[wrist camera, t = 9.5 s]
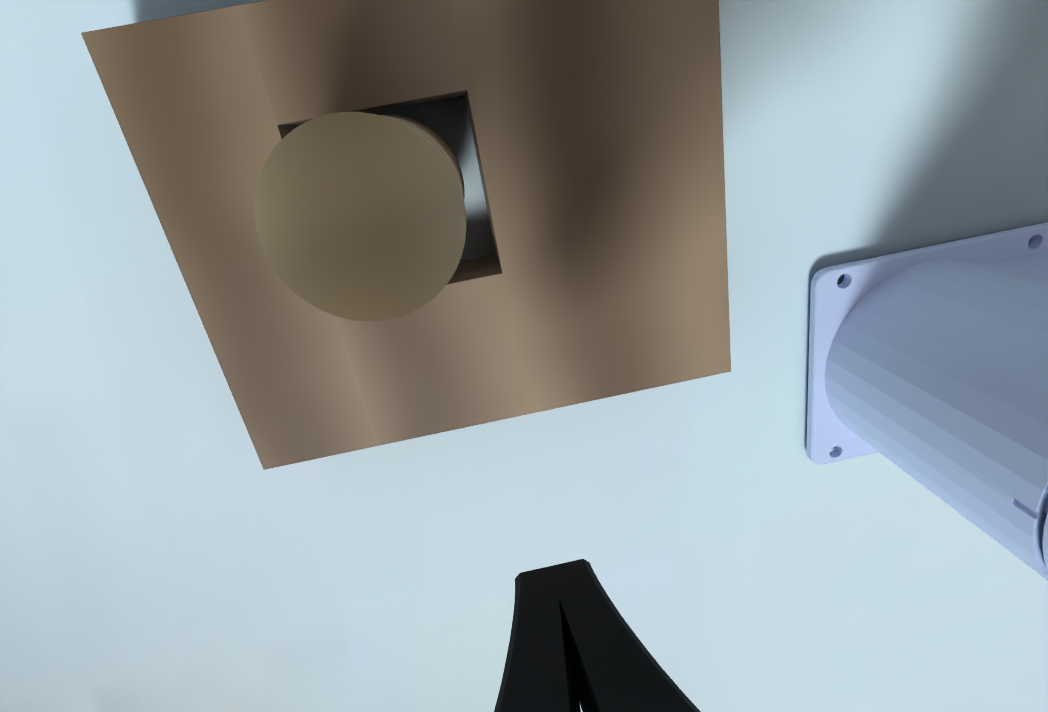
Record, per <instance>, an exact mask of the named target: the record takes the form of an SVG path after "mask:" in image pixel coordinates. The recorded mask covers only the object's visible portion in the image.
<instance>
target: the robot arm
mask: <svg viewBox="0 0 1048 712" xmlns="http://www.w3.org/2000/svg"><path fill="white" fill-rule="evenodd" d="M1031 238H1032V239H1031ZM1030 239H1031V242H1030V243H1029V240H1030ZM1028 243H1029V244H1028ZM843 274H844V280H843V282H842V283H841V284H839V285H837V281H838V278H839V277H840V276H841V275H843ZM833 447H836V448H835V449H834V450H833V451H832V452H830V450H831V449H832V448H833ZM878 452H880V453H881V454H882V455H884V456H885V457H886V458H887V459H889V460H890V461H891V462H893V463H894V464H895V465H897V466H898V467H899V468H901V469H902V470H903V471H905V472H906V473H907V474H908V475H910V476H911V477H912V478H914V479H915V480H916V481H918V482H919V483H920V484H922V485H923V486H924V487H926V488H927V489H928V490H930V491H931V492H932V493H933V494H935V495H936V496H937V497H939V498H940V499H941V500H943V501H944V502H945V503H947V504H948V505H949V506H951V507H952V508H953V509H955V510H956V511H957V512H958V513H960V514H961V515H962V516H964V517H965V518H966V519H968V520H969V521H970V522H972V523H973V524H974V525H976V526H977V527H978V528H980V529H981V530H982V531H983V532H985V533H986V534H987V535H989V536H990V537H991V538H993V539H994V540H995V541H997V542H998V543H999V544H1001V545H1002V546H1003V547H1005V548H1006V549H1007V550H1008V551H1010V552H1011V553H1012V554H1014V555H1015V556H1016V557H1018V558H1019V559H1020V560H1022V561H1023V562H1024V563H1026V564H1027V565H1028V566H1029V567H1031V568H1032V569H1033V570H1035V571H1036V572H1037V573H1039V574H1040V575H1041V576H1043V577H1044V578H1045V579H1047V580H1048V222H1046V223H1041V224H1036V225H1031V226H1026V227H1021V228H1016V229H1012V230H1007V231H1002V232H997V233H992V234H987V235H982V236H977V237H972V238H967V239H963V240H958V241H953V242H948V243H943V244H938V245H933V246H928V247H923V248H918V249H914V250H909V251H904V252H899V253H894V254H889V255H884V256H879V257H874V258H870V259H865V260H860V261H855V262H850V263H845V264H840V265H835V266H830V267H825V268H823V269H820V270H819V271H818V272H816V273H815V275H814V276H813V278H812V281H811V295H810V334H809V374H808V413H807V452H806V453H807V457H808V458H809V459H810V460H811V461H812V462H813V463H815V464H817V465H823V464H827V463H832V462H837V461H841V460H846V459H850V458H855V457H859V456H864V455H869V454H873V453H878ZM579 701H580V703H579ZM580 705H581V708H582V711H583V712H700V711H699V709H698V708H697V707H696V706H695V705H694V704H693V703H692V702H691V701H690V700H689V699H688V697H687V696H686V695H685V694H684V693H683V692H682V691H681V690H680V689H679V687H678V686H677V685H676V684H675V683H674V682H673V680H672V679H671V678H670V677H669V676H668V675H667V674H666V672H665V671H664V670H663V669H662V668H661V666H660V665H659V664H658V663H657V662H656V660H655V659H654V658H653V657H652V655H651V654H650V653H649V652H648V650H647V649H646V648H645V646H644V645H643V644H642V643H641V641H640V640H639V639H638V637H637V636H636V635H635V633H634V632H633V631H632V630H631V628H630V627H629V626H628V624H627V623H626V622H625V620H624V619H623V617H622V616H621V615H620V613H619V612H618V610H617V609H616V607H615V606H614V604H613V603H612V601H611V600H610V598H609V597H608V595H607V594H606V592H605V590H604V589H603V587H602V586H601V584H600V582H599V580H598V579H597V577H596V575H595V573H594V571H593V569H592V567H591V565H590V563H589V562H587V561H586V560H584V559H581V560H576V561H572V562H567V563H563V564H558V565H554V566H549V567H545V568H540V569H536V570H531V571H527V572H522V573H520V574H519V575H518V576H517V577H516V578H515V605H514V615H513V622H512V629H511V636H510V642H509V647H508V653H507V658H506V663H505V668H504V673H503V678H502V683H501V687H500V691H499V695H498V699H497V703H496V707H495V710H494V712H581V710H580Z"/></svg>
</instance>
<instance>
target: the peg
mask: <svg viewBox="0 0 1048 712" xmlns="http://www.w3.org/2000/svg"><path fill="white" fill-rule="evenodd" d="M254 217H255V223H256V230H257V233H258V237H259V240H260V244H261V246H262V248H263V251H264V253H265V255H266V257H267V259H268V261H269V263H270V264H271V266H272V268H273V269H274V271H275V272H276V273H277V275H278V276H279V277H280V279H281V280H282V281H283V282H284V283H285V284H286V285H287V286H288V287H289V288H290V289H291V290H292V291H293V292H294V293H295V294H297V295H298V296H299V297H300V298H301V299H303V300H304V301H306V302H308V303H309V304H311V305H312V306H314V307H316V308H318V309H320V310H322V311H324V312H326V313H329V314H332V315H334V316H337V317H341V318H345V319H349V320H356V321H382V320H390V319H394V318H397V317H401V316H404V315H406V314H409V313H411V312H414V311H415V310H417V309H419V308H421V307H422V306H424V305H426V304H427V303H428V302H429V301H431V300H432V299H433V298H435V297H436V296H437V295H438V294H439V293H440V292H441V291H442V290H443V289H444V287H445V286H446V285H447V283H448V282H449V281H450V279H451V278H452V276H453V274H454V272H455V271H456V269H457V267H458V264H459V262H460V259H461V257H462V253H463V249H464V245H465V238H466V213H465V204H464V182H463V176H462V172H461V169H460V166H459V164H458V161H457V159H456V157H455V155H454V153H453V152H452V150H451V149H450V147H449V146H448V145H447V143H446V142H445V141H444V140H443V139H442V138H441V137H440V136H439V135H438V134H437V133H436V132H434V131H433V130H432V129H431V128H429V127H427V126H426V125H424V124H422V123H420V122H418V121H416V120H413V119H410V118H407V117H403V116H397V115H377V114H370V113H364V112H339V113H331V114H327V115H324V116H320V117H317V118H314V119H312V120H310V121H307V122H305V123H303V124H302V125H300V126H298V127H297V128H295V129H294V130H292V131H291V132H290V133H289V134H287V135H286V136H285V137H284V138H283V139H282V140H281V141H280V142H279V143H278V144H277V145H276V147H275V148H274V149H273V150H272V152H271V153H270V155H269V156H268V158H267V160H266V161H265V163H264V166H263V168H262V170H261V172H260V175H259V178H258V182H257V186H256V191H255V199H254Z"/></svg>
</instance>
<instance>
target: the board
mask: <svg viewBox="0 0 1048 712" xmlns="http://www.w3.org/2000/svg"><path fill="white" fill-rule="evenodd" d="M81 34H82V36H83V39H84V41H85V44H86V46H87V48H88V51H89V53H90V55H91V58H92V60H93V63H94V65H95V67H96V70H97V72H98V75H99V77H100V79H101V82H102V84H103V87H104V89H105V91H106V94H107V96H108V98H109V101H110V103H111V106H112V108H113V110H114V113H115V115H116V118H117V120H118V122H119V125H120V127H121V130H122V132H123V134H124V137H125V139H126V141H127V144H128V146H129V149H130V151H131V153H132V156H133V158H134V161H135V163H136V165H137V168H138V170H139V173H140V175H141V177H142V180H143V182H144V184H145V187H146V189H147V192H148V194H149V196H150V199H151V201H152V204H153V206H154V208H155V211H156V213H157V216H158V218H159V220H160V223H161V225H162V227H163V230H164V232H165V235H166V237H167V239H168V242H169V244H170V247H171V249H172V251H173V254H174V256H175V259H176V261H177V263H178V266H179V268H180V270H181V273H182V275H183V278H184V280H185V282H186V285H187V287H188V290H189V292H190V294H191V297H192V299H193V302H194V304H195V306H196V309H197V311H198V313H199V316H200V318H201V321H202V323H203V325H204V328H205V330H206V333H207V335H208V337H209V340H210V342H211V345H212V347H213V349H214V352H215V354H216V356H217V359H218V361H219V364H220V366H221V368H222V371H223V373H224V376H225V378H226V380H227V383H228V385H229V388H230V390H231V392H232V395H233V397H234V399H235V402H236V404H237V407H238V409H239V411H240V414H241V416H242V419H243V421H244V423H245V426H246V428H247V431H248V433H249V435H250V438H251V440H252V442H253V445H254V447H255V450H256V452H257V454H258V457H259V459H260V462H261V464H262V466H263V469H264V470H265V469H270V468H274V467H279V466H284V465H289V464H293V463H298V462H303V461H308V460H312V459H317V458H322V457H327V456H331V455H336V454H341V453H346V452H350V451H355V450H360V449H364V448H369V447H374V446H379V445H383V444H388V443H393V442H398V441H402V440H407V439H412V438H417V437H421V436H426V435H431V434H436V433H440V432H445V431H450V430H455V429H459V428H464V427H469V426H474V425H478V424H483V423H488V422H493V421H497V420H502V419H507V418H512V417H516V416H521V415H526V414H531V413H535V412H540V411H545V410H550V409H554V408H559V407H564V406H569V405H573V404H578V403H583V402H588V401H592V400H597V399H602V398H607V397H611V396H616V395H621V394H626V393H630V392H635V391H640V390H645V389H649V388H654V387H659V386H664V385H668V384H673V383H678V382H683V381H687V380H692V379H697V378H701V377H706V376H711V375H716V374H720V373H725V372H730V371H731V359H730V329H729V299H728V269H727V239H726V209H725V179H724V149H723V119H722V90H721V60H720V30H719V0H265V1H259V2H254V3H248V4H242V5H236V6H231V7H225V8H219V9H214V10H208V11H202V12H197V13H191V14H185V15H180V16H174V17H168V18H163V19H157V20H151V21H146V22H140V23H134V24H129V25H123V26H117V27H112V28H106V29H100V30H94V31H89V32H83V33H81ZM463 95H465V97H466V102H467V107H468V112H469V117H470V123H471V128H472V133H473V138H474V143H475V148H476V154H477V159H478V164H479V169H480V174H481V179H482V184H483V190H484V195H485V200H486V205H487V210H488V215H489V220H490V226H491V231H492V236H493V241H494V246H495V251H496V255H495V256H490V257H485V258H480V259H475V260H470V261H465V262H460V263H459V264H458V267H457V269H456V271H455V272H454V274H453V276H452V278H451V279H450V281H449V282H448V283H447V285H446V286H445V287H444V289H443V290H442V291H441V292H440V293H439V294H438V295H437V296H436V297H435V298H433V299H432V300H431V301H429V302H428V303H427V304H426V305H424V306H422V307H421V308H419V309H417V310H415V311H414V312H411V313H409V314H406V315H404V316H401V317H397V318H394V319H390V320H382V321H356V320H349V319H345V318H341V317H337V316H334V315H332V314H329V313H326V312H324V311H322V310H320V309H318V308H316V307H314V306H312V305H311V304H309V303H308V302H306V301H304V300H303V299H301V298H300V297H299V296H298V295H297V294H295V293H294V292H293V291H292V290H291V289H290V288H289V287H288V286H287V285H286V284H285V283H284V282H283V281H282V280H281V279H280V277H279V276H278V275H277V273H276V272H275V271H274V269H273V268H272V266H271V264H270V263H269V261H268V259H267V257H266V255H265V253H264V251H263V248H262V246H261V244H260V240H259V237H258V233H257V230H256V223H255V217H254V199H255V191H256V186H257V182H258V178H259V175H260V172H261V170H262V168H263V166H264V163H265V161H266V160H267V158H268V156H269V155H270V153H271V152H272V150H273V149H274V148H275V147H276V145H277V144H278V143H279V142H280V141H281V140H282V139H283V138H284V137H285V136H286V135H287V134H289V133H290V132H291V131H292V130H294V129H295V128H297V127H298V126H300V125H302V124H303V123H305V122H307V121H310V120H312V119H314V118H317V117H320V116H324V115H327V114H331V113H339V112H364V113H371V112H377V111H382V110H388V109H393V108H398V107H404V106H409V105H414V104H420V103H425V102H431V101H436V100H441V99H447V98H452V97H458V96H463Z"/></svg>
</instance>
